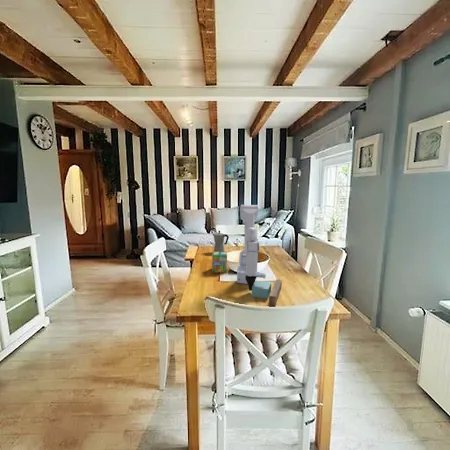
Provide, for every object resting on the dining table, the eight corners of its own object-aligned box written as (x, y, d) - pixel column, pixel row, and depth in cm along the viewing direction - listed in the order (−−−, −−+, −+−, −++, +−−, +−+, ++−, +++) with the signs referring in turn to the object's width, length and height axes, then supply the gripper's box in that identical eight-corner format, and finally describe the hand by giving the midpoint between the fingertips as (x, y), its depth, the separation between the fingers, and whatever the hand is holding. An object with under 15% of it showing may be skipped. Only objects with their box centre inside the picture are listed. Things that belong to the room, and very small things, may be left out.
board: (268, 305, 128) (269, 295, 128) (275, 287, 151) (276, 279, 150) (275, 306, 127) (275, 296, 127) (281, 288, 150) (281, 280, 149)
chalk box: (211, 268, 183) (212, 246, 181) (225, 268, 183) (226, 246, 181) (212, 272, 174) (212, 249, 171) (226, 272, 174) (227, 249, 172)
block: (251, 296, 138) (252, 287, 137) (255, 289, 147) (256, 280, 146) (267, 299, 135) (268, 289, 135) (270, 291, 145) (271, 282, 144)
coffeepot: (209, 252, 226) (209, 230, 224) (215, 250, 234) (215, 229, 232) (225, 255, 218) (225, 232, 216) (231, 252, 226) (231, 231, 224)
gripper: (235, 264, 139) (235, 290, 141) (264, 268, 135) (263, 294, 137) (239, 261, 146) (238, 286, 148) (266, 264, 141) (265, 289, 143)
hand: (250, 289), depth 143 cm, fingers closed
